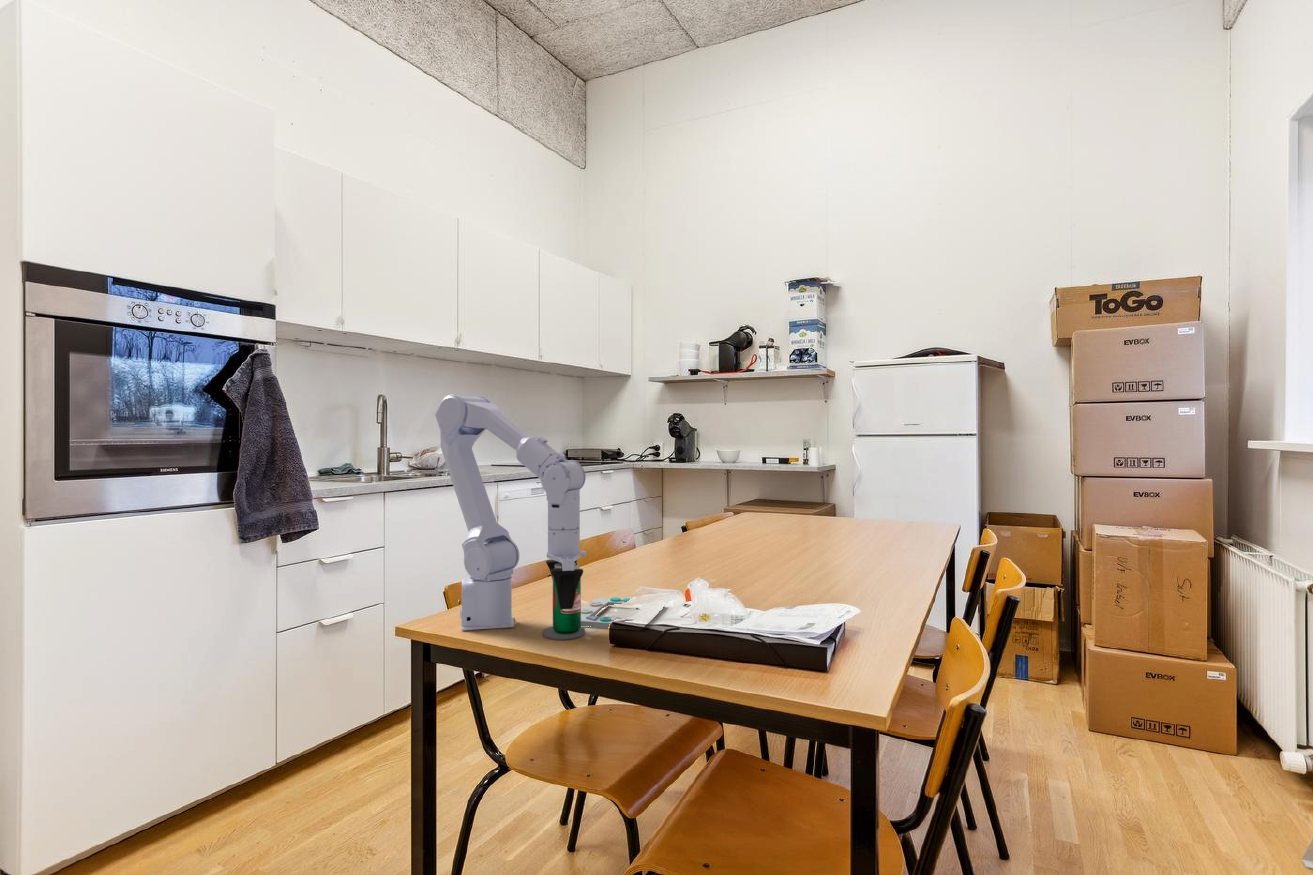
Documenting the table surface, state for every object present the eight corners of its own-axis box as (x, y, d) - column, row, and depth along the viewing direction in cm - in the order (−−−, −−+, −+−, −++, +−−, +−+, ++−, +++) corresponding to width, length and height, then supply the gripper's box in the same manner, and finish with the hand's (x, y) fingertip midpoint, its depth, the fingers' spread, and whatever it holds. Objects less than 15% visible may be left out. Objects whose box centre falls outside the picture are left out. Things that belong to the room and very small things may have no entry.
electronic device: (641, 622, 125) (564, 617, 129) (641, 635, 125) (564, 629, 129) (665, 599, 143) (597, 595, 147) (665, 610, 143) (597, 606, 147)
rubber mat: (544, 641, 119) (544, 638, 119) (541, 629, 126) (541, 626, 126) (587, 638, 121) (587, 635, 121) (581, 626, 128) (581, 623, 128)
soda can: (563, 636, 120) (563, 568, 120) (547, 630, 124) (546, 564, 124) (586, 630, 123) (586, 564, 123) (569, 625, 127) (569, 560, 127)
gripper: (591, 532, 118) (591, 612, 118) (580, 522, 132) (580, 593, 132) (550, 534, 116) (550, 614, 116) (543, 523, 130) (543, 595, 130)
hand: (563, 603), depth 124 cm, fingers open, 7 cm apart
